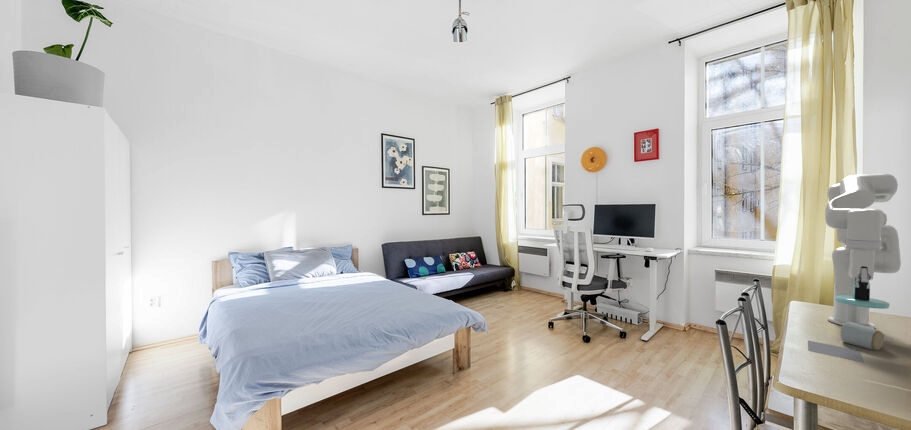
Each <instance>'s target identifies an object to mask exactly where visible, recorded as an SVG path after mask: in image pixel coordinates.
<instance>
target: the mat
mask: <svg viewBox="0 0 911 430" xmlns="http://www.w3.org/2000/svg"><path fill="white" fill-rule="evenodd" d="M807 350H808V351H809V352H813V353H817V354H822V355H828V356H831V357H836V358H841V359H846V360H849V361H850V360H851V361H855V362H860V363H865V362H864V358H863V356H862V353H861V351H860V349H854V348H849V347H844V346H838V345H833V344H830V343H823V342H818V341H814V340H807Z"/></svg>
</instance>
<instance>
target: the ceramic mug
mask: <svg viewBox="0 0 911 430" xmlns="http://www.w3.org/2000/svg"><path fill="white" fill-rule="evenodd" d="M840 340H841V342H843V343H845V344H848V345H853V346H856V347H859V348H860V347H861V348H863V349H868V350H872V351H879V350H881V349H882V347H883V345H884V343H885V335H884V333H883V332H882V331H880V330H879V329H877V328H870V327H866V326H863V325H860V324H856V323H853V322H846V323H845V324H844V325H843V326H842V327H841V331H840Z"/></svg>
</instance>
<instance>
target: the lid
mask: <svg viewBox="0 0 911 430" xmlns="http://www.w3.org/2000/svg"><path fill="white" fill-rule="evenodd" d="M855 287H856V284H854V288H853V296H849V295H837V296H835V300H836V301H838V302H841V303H844V304H849V305H854V306H860V307H867V308H869V309H879V310H880V309H881V310H883V309H889V308H890V303H889V302H887V301H884V300H881V299H876V298H871V297H870V300H869V301H866V300H858V299H855ZM869 289H870V290H871V285H870V286H869Z"/></svg>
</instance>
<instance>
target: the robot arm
mask: <svg viewBox="0 0 911 430" xmlns="http://www.w3.org/2000/svg"><path fill="white" fill-rule="evenodd" d="M898 185H899V184H898V181H897V178H896V177H895V176H894V175H892V174H889V173H871V174H869V173H865V174H853V175H848V176H846V177H844V178H842V179H841V180H840V181H839V183H835V184H833V185H831V186H830V187H828V189H827V197H828V203H827V204H826V206H825V210H824V211H825V212H824V213H825V214H824V216H825V223H826V226H827V227H829V228H832V229H836V237H837V238H836V239H837V241H838V243H839V244H841V245H842V246H841V247H837V248H835V249H833V251H832V253H831V258H832V265H833V272H834V275H833V277H834V283H833V284H834V286H833V287H834V288H833V312H832V313H833V315H829V316H828V317H827V320H828V321H829V322H830V323H833V324H835V325H838V326H842V327H843V325H844V324H845V323H846V322H853V323H856V324H860V325H863V326H866V327H870V328H874V329H876V328H875V327H876V325H875V324H874V323H873V322H870V308H867V307H860V306H854V305H849V304H844V303H841V302H838V301H836V300H835V296H837V295H849V296H853V288H854V284H856V287H855V299H858V300H866V301H869V300H870V298H871V288H870V289H869V286H870V287H871V283H870V281H872V280H873V279H874V275H875V274H874V273H876V274H877V273H878V274H896V273H898V272H899V271H900V269H901V264H902V263H901V251H900V239H899V233H898V231H897V229H896V228H895V227H894V226H893V225H890V224H887V222H888V218H887V217H888V215H887V214H886V213H885V212H884V211H883V210H881V209H878V208H869V207H870V206H872V205H873V204H875V203H887V202H889V201H890V200H891V199H893V196H894V195H895V194H896V192H897V191H898Z"/></svg>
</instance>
